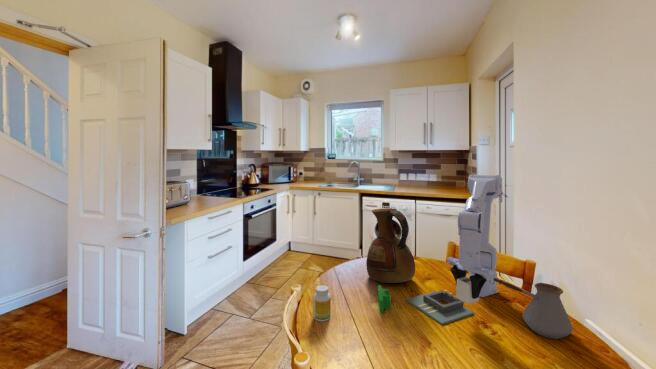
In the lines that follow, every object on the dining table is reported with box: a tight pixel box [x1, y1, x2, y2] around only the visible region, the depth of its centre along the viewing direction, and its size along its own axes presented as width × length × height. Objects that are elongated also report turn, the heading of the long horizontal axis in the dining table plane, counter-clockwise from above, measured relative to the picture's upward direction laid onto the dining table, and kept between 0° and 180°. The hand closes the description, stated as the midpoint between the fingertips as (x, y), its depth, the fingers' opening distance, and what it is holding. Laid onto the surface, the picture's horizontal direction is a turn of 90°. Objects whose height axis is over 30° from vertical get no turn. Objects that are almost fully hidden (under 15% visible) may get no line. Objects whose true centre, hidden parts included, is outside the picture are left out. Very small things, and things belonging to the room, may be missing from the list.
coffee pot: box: [490, 278, 574, 340], centre depth 80 cm, size 21×12×15 cm, turn 82°
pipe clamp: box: [377, 284, 392, 314], centre depth 95 cm, size 11×4×5 cm, turn 173°
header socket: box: [405, 289, 475, 326], centre depth 93 cm, size 14×16×4 cm
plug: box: [455, 275, 480, 305], centre depth 85 cm, size 4×4×6 cm
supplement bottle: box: [313, 284, 332, 322], centre depth 87 cm, size 5×5×10 cm
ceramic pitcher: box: [365, 207, 416, 284], centre depth 114 cm, size 20×20×30 cm
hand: (467, 294), depth 85 cm, fingers closed on plug, 4 cm apart
